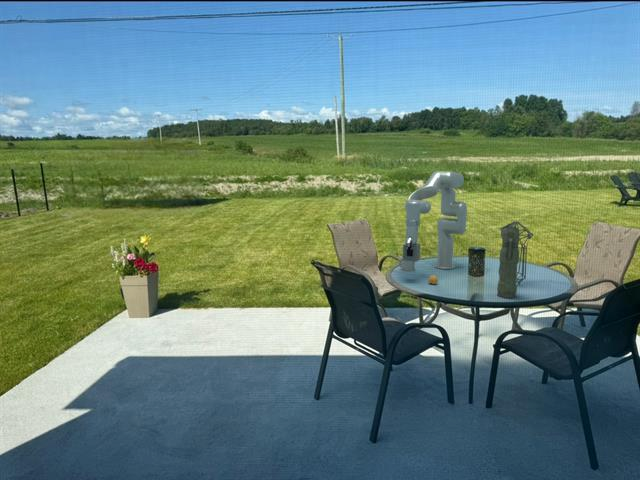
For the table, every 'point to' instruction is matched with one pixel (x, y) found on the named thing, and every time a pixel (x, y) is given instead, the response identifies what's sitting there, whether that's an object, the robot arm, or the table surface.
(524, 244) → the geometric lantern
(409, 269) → the cup
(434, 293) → the table surface
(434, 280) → the ball
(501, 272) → the tall grey column
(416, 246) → the trap cup
